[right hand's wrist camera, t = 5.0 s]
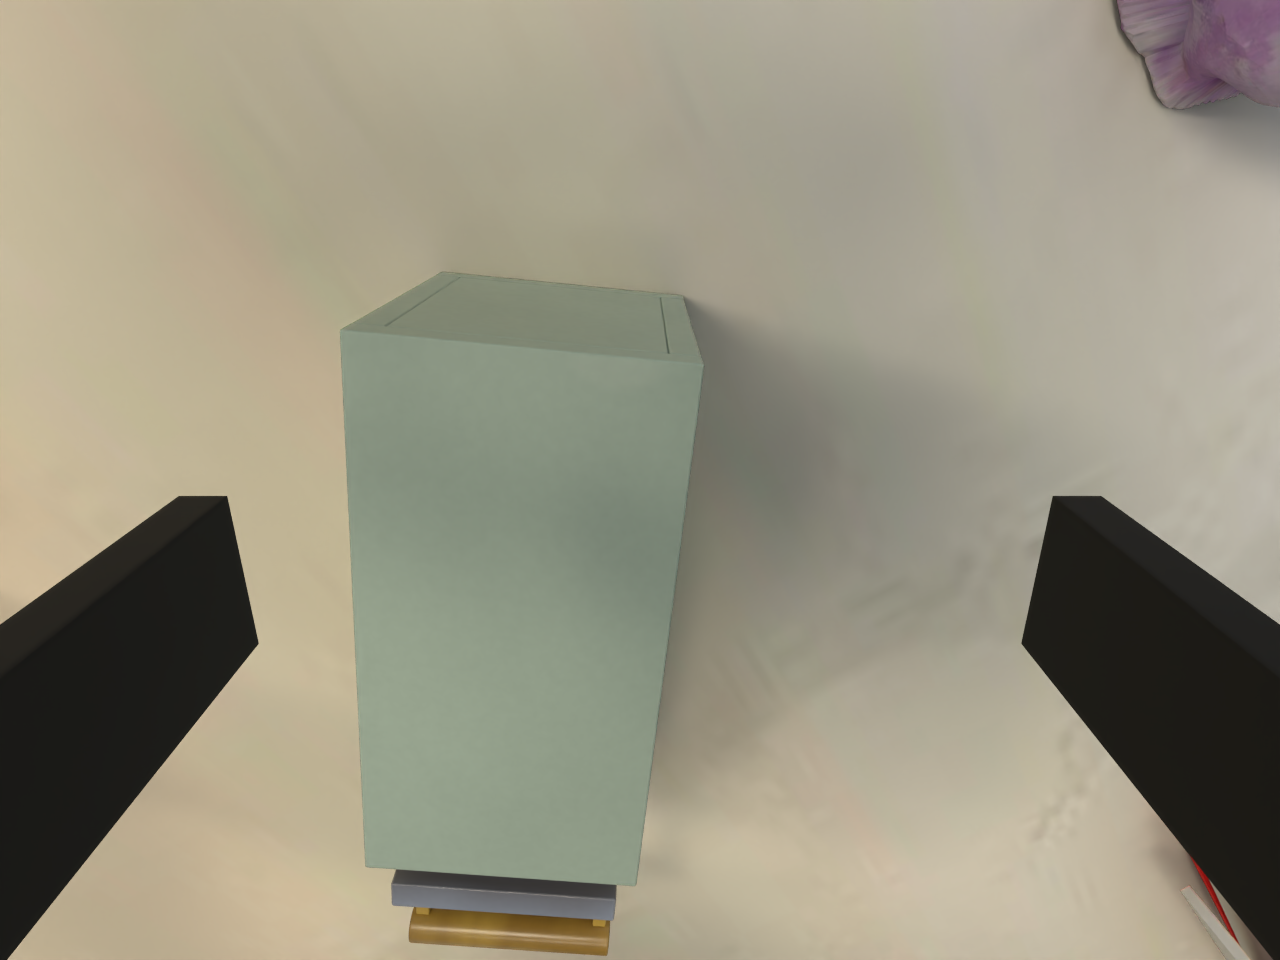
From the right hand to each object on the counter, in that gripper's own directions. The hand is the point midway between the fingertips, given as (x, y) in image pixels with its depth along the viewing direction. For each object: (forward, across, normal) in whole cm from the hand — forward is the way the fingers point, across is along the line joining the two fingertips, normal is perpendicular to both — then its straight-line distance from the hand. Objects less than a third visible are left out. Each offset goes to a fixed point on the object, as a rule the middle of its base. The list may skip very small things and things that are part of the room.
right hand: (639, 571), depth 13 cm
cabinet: (+22, -4, -8) cm, 23 cm away
